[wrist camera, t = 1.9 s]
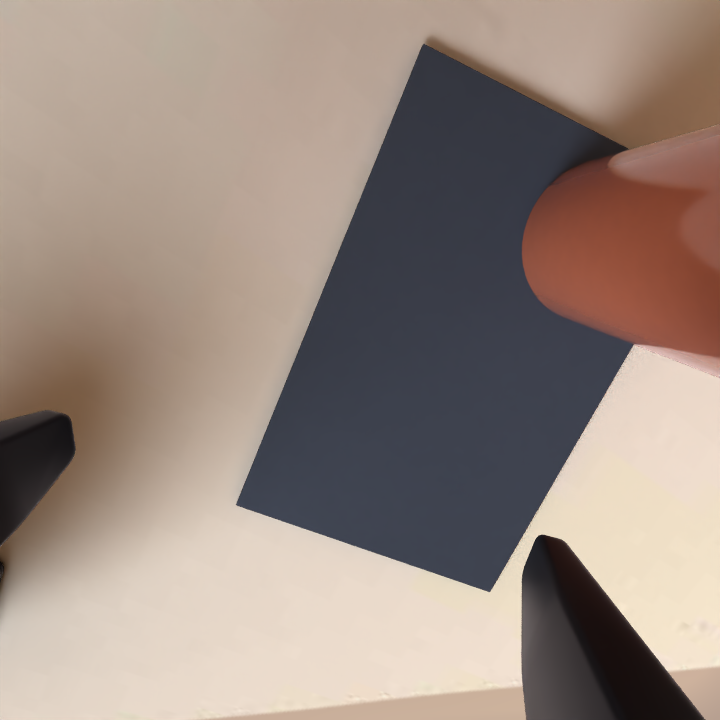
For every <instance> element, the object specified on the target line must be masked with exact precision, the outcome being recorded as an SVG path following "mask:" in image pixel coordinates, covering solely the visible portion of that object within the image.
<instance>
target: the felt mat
mask: <svg viewBox="0 0 720 720" xmlns="http://www.w3.org/2000/svg"><path fill="white" fill-rule="evenodd" d="M626 150H629V149H628V148H626V147H624V146H622V145H620V144H618V143H616V142H614V141H612V140H610V139H608V138H606V137H605V136H603V135H601V134H599V133H597V132H595V131H593V130H591V129H589V128H587V127H585V126H583V125H581V124H579V123H577V122H575V121H573V120H571V119H569V118H567V117H566V116H564V115H562V114H560V113H558V112H556V111H554V110H552V109H550V108H548V107H546V106H544V105H542V104H540V103H538V102H536V101H534V100H532V99H530V98H528V97H527V96H525V95H523V94H521V93H519V92H517V91H515V90H513V89H511V88H509V87H507V86H505V85H503V84H501V83H499V82H497V81H495V80H493V79H491V78H489V77H488V76H486V75H484V74H482V73H480V72H478V71H476V70H474V69H472V68H470V67H468V66H466V65H464V64H462V63H460V62H458V61H456V60H454V59H452V58H450V57H449V56H447V55H445V54H443V53H441V52H439V51H437V50H435V49H433V48H431V47H429V46H427V45H425V44H423V45H422V48H421V50H420V53H419V55H418V58H417V60H416V62H415V65H414V67H413V70H412V72H411V75H410V77H409V80H408V82H407V85H406V87H405V90H404V92H403V95H402V97H401V99H400V102H399V104H398V107H397V109H396V112H395V114H394V117H393V119H392V122H391V124H390V127H389V129H388V131H387V134H386V136H385V139H384V141H383V144H382V146H381V149H380V151H379V154H378V156H377V159H376V161H375V164H374V166H373V168H372V171H371V173H370V176H369V178H368V181H367V183H366V186H365V188H364V191H363V193H362V196H361V198H360V200H359V203H358V205H357V208H356V210H355V213H354V215H353V218H352V220H351V223H350V225H349V228H348V230H347V233H346V235H345V237H344V240H343V242H342V245H341V247H340V250H339V252H338V255H337V257H336V260H335V262H334V265H333V267H332V269H331V272H330V274H329V277H328V279H327V282H326V284H325V287H324V289H323V292H322V294H321V297H320V299H319V302H318V304H317V306H316V309H315V311H314V314H313V316H312V319H311V321H310V324H309V326H308V329H307V331H306V334H305V336H304V338H303V341H302V343H301V346H300V348H299V351H298V353H297V356H296V358H295V361H294V363H293V366H292V368H291V371H290V373H289V375H288V378H287V380H286V383H285V385H284V388H283V390H282V393H281V395H280V398H279V400H278V403H277V405H276V407H275V410H274V412H273V415H272V417H271V420H270V422H269V425H268V427H267V430H266V432H265V435H264V437H263V440H262V442H261V444H260V447H259V449H258V452H257V454H256V457H255V459H254V462H253V464H252V467H251V469H250V472H249V474H248V476H247V479H246V481H245V484H244V486H243V489H242V491H241V494H240V496H239V499H238V501H237V504H236V505H237V506H240V507H243V508H246V509H249V510H252V511H254V512H257V513H260V514H263V515H266V516H269V517H272V518H275V519H278V520H281V521H284V522H287V523H289V524H292V525H295V526H298V527H301V528H304V529H307V530H310V531H313V532H316V533H319V534H322V535H325V536H327V537H330V538H333V539H336V540H339V541H342V542H345V543H348V544H351V545H354V546H357V547H360V548H362V549H365V550H368V551H371V552H374V553H377V554H380V555H383V556H386V557H389V558H392V559H395V560H398V561H400V562H403V563H406V564H409V565H412V566H415V567H418V568H421V569H424V570H427V571H430V572H433V573H435V574H438V575H441V576H444V577H447V578H450V579H453V580H456V581H459V582H462V583H465V584H468V585H471V586H473V587H476V588H479V589H482V590H485V591H488V592H490V591H491V590H492V588H493V586H494V584H495V583H496V581H497V579H498V577H499V576H500V574H501V572H502V571H503V569H504V567H505V565H506V564H507V562H508V560H509V558H510V557H511V555H512V553H513V552H514V550H515V548H516V546H517V545H518V543H519V541H520V540H521V538H522V536H523V534H524V533H525V531H526V529H527V527H528V526H529V524H530V522H531V521H532V519H533V517H534V515H535V514H536V512H537V510H538V508H539V507H540V505H541V503H542V502H543V500H544V498H545V496H546V495H547V493H548V491H549V489H550V488H551V486H552V484H553V483H554V481H555V479H556V477H557V476H558V474H559V472H560V471H561V469H562V467H563V465H564V464H565V462H566V460H567V458H568V457H569V455H570V453H571V452H572V450H573V448H574V446H575V445H576V443H577V441H578V439H579V438H580V436H581V434H582V433H583V431H584V429H585V427H586V426H587V424H588V422H589V420H590V419H591V417H592V415H593V414H594V412H595V410H596V408H597V407H598V405H599V403H600V402H601V400H602V398H603V396H604V395H605V393H606V391H607V389H608V388H609V386H610V384H611V383H612V381H613V379H614V377H615V376H616V374H617V372H618V370H619V369H620V367H621V365H622V364H623V362H624V360H625V358H626V357H627V355H628V353H629V352H630V350H631V348H632V346H633V344H631V343H628V342H626V341H623V340H620V339H618V338H615V337H613V336H610V335H607V334H605V333H602V332H600V331H597V330H594V329H592V328H589V327H587V326H584V325H582V324H579V323H576V322H574V321H571V320H569V319H566V318H563V317H561V316H559V315H557V314H556V313H554V312H552V311H551V310H550V309H548V308H547V307H546V306H545V305H544V304H543V303H542V302H541V301H540V300H539V299H538V298H537V296H536V295H535V294H534V292H533V291H532V289H531V287H530V285H529V283H528V281H527V278H526V275H525V271H524V267H523V261H522V241H523V235H524V230H525V227H526V223H527V220H528V218H529V215H530V213H531V211H532V209H533V207H534V205H535V204H536V202H537V200H538V199H539V197H540V196H541V195H542V193H543V192H544V191H545V190H546V189H547V188H548V186H549V185H550V184H551V183H552V182H553V181H555V180H556V179H557V178H558V177H559V176H561V175H562V174H563V173H565V172H566V171H568V170H570V169H571V168H573V167H575V166H577V165H579V164H582V163H585V162H587V161H590V160H594V159H597V158H601V157H604V156H608V155H612V154H615V153H619V152H622V151H626Z"/></svg>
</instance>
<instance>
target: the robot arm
mask: <svg viewBox="0 0 720 720" xmlns="http://www.w3.org/2000/svg"><path fill="white" fill-rule="evenodd" d="M75 450H76V449H75V441H74V434H73V428H72V422H71V419H70V417H69V416H68V415H66V414H63V413H59V412H55V411H51V410H45V411H40V412H36V413H32V414H28V415H24V416H20V417H16V418H12V419H9V420H5V421H1V422H0V546H1V545H2V544H3V543H4V542H5V541H6V540H7V539H8V538H9V537H10V536H11V535H12V534H13V533H14V531H15V530H16V529H17V528H18V527H19V526H20V525H21V524H22V522H23V521H24V520H25V519H26V518H27V516H28V515H29V514H30V513H31V511H32V510H33V509H34V508H35V506H36V505H37V504H38V503H39V501H40V500H41V499H42V498H43V496H44V495H45V494H46V493H47V491H48V490H49V489H50V488H51V486H52V485H53V484H54V482H55V481H56V480H57V479H58V477H59V476H60V475H61V474H62V472H63V471H64V470H65V469H66V467H67V466H68V465H69V464H70V462H71V461H72V459H73V457H74V455H75ZM3 571H4V566H3V564H2V563H1V562H0V582H1V578H2V575H3ZM521 658H522V682H523V692H524V702H525V712H526V720H705V719H704V718H703V716H702V715H701V714H700V713H699V711H698V710H697V709H696V707H695V706H694V705H693V704H692V702H691V701H690V700H689V698H688V697H687V696H686V695H685V693H684V692H683V691H682V690H681V688H680V687H679V686H678V684H677V683H676V682H675V681H674V679H673V678H672V677H671V676H670V674H669V673H668V672H667V670H666V669H665V668H664V667H663V665H662V664H661V663H660V662H659V660H658V659H657V658H656V656H655V655H654V654H653V653H652V651H651V650H650V649H649V648H648V646H647V645H646V644H645V643H644V641H643V640H642V639H641V637H640V636H639V635H638V634H637V632H636V631H635V630H634V629H633V627H632V626H631V625H630V623H629V622H628V621H627V620H626V618H625V617H624V616H623V615H622V613H621V612H620V611H619V609H618V608H617V607H616V606H615V604H614V603H613V602H612V601H611V599H610V598H609V597H608V595H607V594H606V593H605V592H604V590H603V589H602V588H601V587H600V585H599V584H598V583H597V581H596V580H595V579H594V578H593V576H592V575H591V574H590V573H589V571H588V570H587V569H586V568H585V566H584V565H583V564H582V562H581V561H580V560H579V559H578V557H577V556H576V555H575V554H574V552H573V551H572V550H571V548H570V547H569V546H568V545H567V543H566V542H564V541H563V540H561V539H558V538H554V537H550V536H546V535H539V536H538V537H537V538H536V539H535V542H534V544H533V546H532V549H531V551H530V554H529V556H528V559H527V561H526V564H525V566H524V570H523V575H522V650H521Z"/></svg>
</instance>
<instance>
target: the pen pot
mask: <svg viewBox="0 0 720 720" xmlns="http://www.w3.org/2000/svg"><path fill="white" fill-rule="evenodd" d="M522 261H523V267H524V271H525V275H526V278H527V281H528V283H529V285H530V287H531V289H532V291H533V292H534V294H535V295H536V296H537V298H538V299H539V300H540V301H541V302H542V303H543V304H544V305H545V306H546V307H547V308H548V309H550V310H551V311H552V312H554V313H556V314H557V315H559V316H561V317H563V318H566V319H569V320H571V321H574V322H576V323H579V324H582V325H584V326H587V327H589V328H592V329H594V330H597V331H600V332H602V333H605V334H607V335H610V336H613V337H615V338H618V339H620V340H623V341H626V342H628V343H631V344H633V345H636V346H638V347H641V348H644V349H646V350H649V351H651V352H654V353H657V354H659V355H662V356H664V357H667V358H669V359H672V360H675V361H677V362H680V363H682V364H685V365H688V366H690V367H693V368H695V369H698V370H701V371H703V372H706V373H708V374H711V375H713V376H716V377H719V378H720V124H718V125H715V126H711V127H708V128H704V129H700V130H697V131H693V132H690V133H686V134H683V135H679V136H676V137H672V138H668V139H665V140H661V141H658V142H654V143H651V144H647V145H644V146H640V147H636V148H633V149H629V150H626V151H622V152H619V153H615V154H612V155H608V156H604V157H601V158H597V159H594V160H590V161H587V162H585V163H582V164H579V165H577V166H575V167H573V168H571V169H570V170H568V171H566V172H565V173H563V174H562V175H561V176H559V177H558V178H557V179H556V180H555V181H553V182H552V183H551V184H550V185H549V186H548V188H547V189H546V190H545V191H544V192H543V193H542V195H541V196H540V197H539V199H538V200H537V202H536V204H535V205H534V207H533V209H532V211H531V213H530V215H529V218H528V220H527V223H526V227H525V230H524V235H523V241H522Z"/></svg>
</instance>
